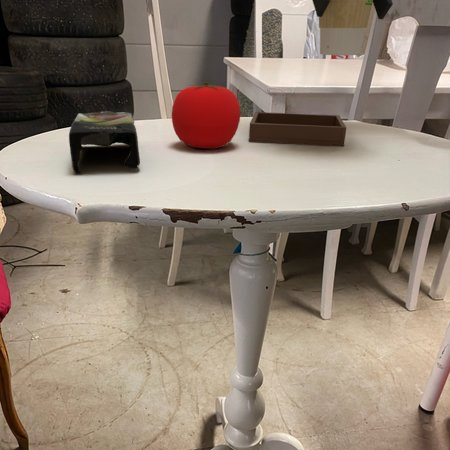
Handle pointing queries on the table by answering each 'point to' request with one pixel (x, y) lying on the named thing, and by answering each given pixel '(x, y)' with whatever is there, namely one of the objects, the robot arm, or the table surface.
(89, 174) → the table surface
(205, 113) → the tomato
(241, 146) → the table surface
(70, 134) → the black box
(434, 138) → the table surface
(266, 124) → the serving tray
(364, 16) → the coffee cup
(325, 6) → the robot arm
